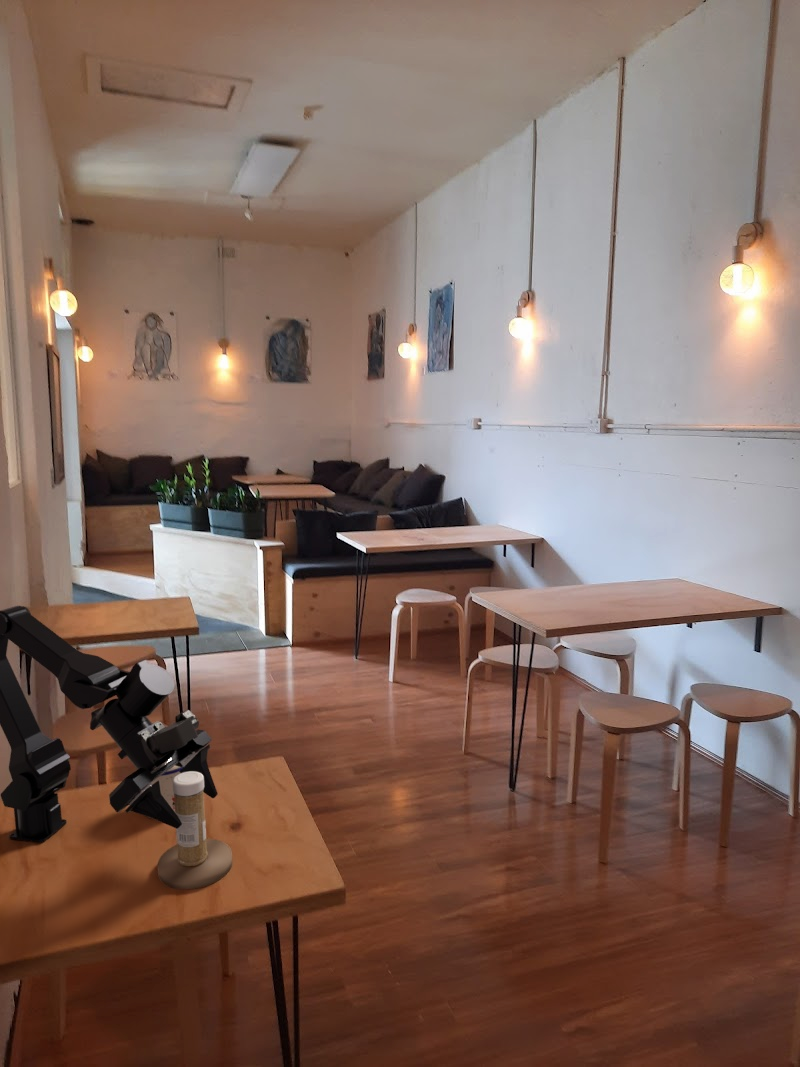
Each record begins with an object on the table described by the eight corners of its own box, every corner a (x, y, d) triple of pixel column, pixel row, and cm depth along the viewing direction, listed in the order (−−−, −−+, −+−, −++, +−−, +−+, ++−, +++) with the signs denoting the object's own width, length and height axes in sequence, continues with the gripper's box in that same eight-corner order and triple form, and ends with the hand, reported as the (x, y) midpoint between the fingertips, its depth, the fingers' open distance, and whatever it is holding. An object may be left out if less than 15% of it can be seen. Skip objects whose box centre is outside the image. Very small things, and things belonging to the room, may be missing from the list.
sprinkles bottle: (213, 854, 117) (210, 773, 115) (195, 870, 113) (190, 786, 111) (189, 848, 119) (185, 767, 117) (170, 863, 115) (165, 780, 112)
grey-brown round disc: (144, 884, 112) (143, 875, 112) (181, 843, 123) (180, 835, 123) (212, 893, 110) (211, 884, 109) (243, 851, 120) (243, 842, 120)
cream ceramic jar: (182, 821, 129) (178, 757, 128) (131, 820, 130) (126, 756, 128) (206, 787, 141) (202, 728, 139) (158, 786, 142) (155, 727, 140)
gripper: (120, 725, 105) (191, 812, 103) (198, 681, 122) (261, 755, 120) (79, 770, 109) (147, 855, 107) (161, 721, 126) (221, 793, 124)
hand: (198, 811), depth 114 cm, fingers open, 9 cm apart
